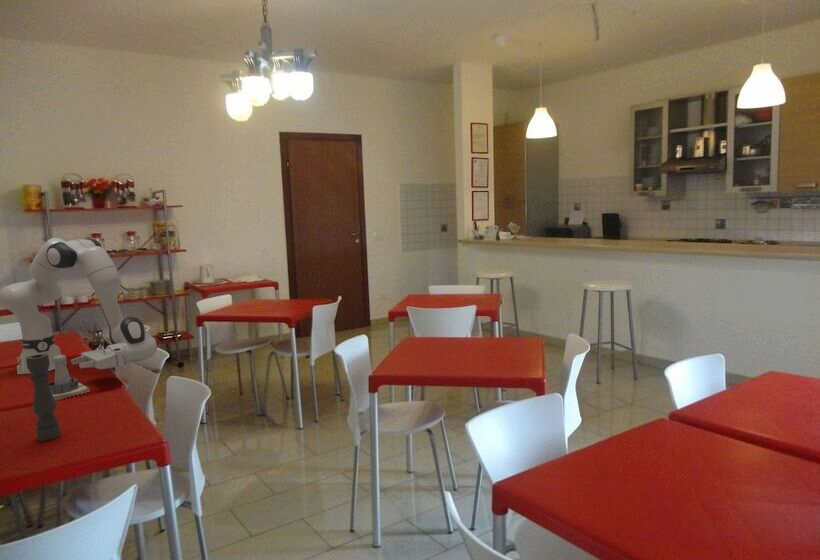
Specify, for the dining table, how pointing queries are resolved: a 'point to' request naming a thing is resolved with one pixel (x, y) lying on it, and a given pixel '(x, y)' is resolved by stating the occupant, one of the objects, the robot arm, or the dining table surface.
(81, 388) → the birch stand
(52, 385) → the metal collar
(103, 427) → the dining table surface
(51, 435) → the candle holder
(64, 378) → the salt shaker
